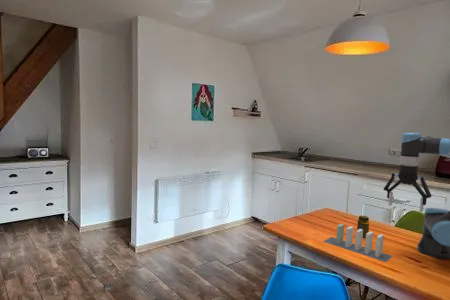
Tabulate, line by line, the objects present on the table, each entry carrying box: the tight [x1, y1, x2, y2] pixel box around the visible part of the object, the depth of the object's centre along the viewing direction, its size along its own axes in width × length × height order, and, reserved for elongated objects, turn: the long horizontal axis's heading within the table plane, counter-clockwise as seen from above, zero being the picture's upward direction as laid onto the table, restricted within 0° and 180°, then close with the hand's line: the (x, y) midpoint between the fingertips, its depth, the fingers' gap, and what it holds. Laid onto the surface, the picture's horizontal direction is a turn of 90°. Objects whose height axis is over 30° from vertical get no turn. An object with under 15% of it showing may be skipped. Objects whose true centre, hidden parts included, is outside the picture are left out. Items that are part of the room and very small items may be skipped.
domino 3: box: [354, 229, 364, 251], centre depth 158 cm, size 2×5×10 cm, turn 135°
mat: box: [322, 236, 393, 263], centre depth 159 cm, size 32×10×1 cm, turn 45°
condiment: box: [356, 215, 370, 239], centre depth 176 cm, size 7×8×12 cm
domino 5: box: [374, 233, 384, 257], centre depth 151 cm, size 2×5×10 cm, turn 135°
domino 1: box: [335, 223, 345, 245], centre depth 165 cm, size 2×5×10 cm, turn 135°
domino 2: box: [344, 225, 354, 248], centre depth 162 cm, size 2×5×10 cm, turn 135°
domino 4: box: [364, 231, 374, 254], centre depth 155 cm, size 2×5×10 cm, turn 135°
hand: (405, 208), depth 149 cm, fingers open, 13 cm apart
